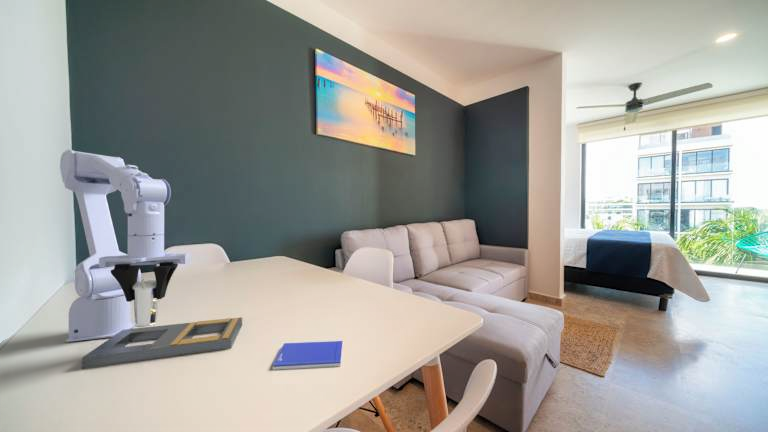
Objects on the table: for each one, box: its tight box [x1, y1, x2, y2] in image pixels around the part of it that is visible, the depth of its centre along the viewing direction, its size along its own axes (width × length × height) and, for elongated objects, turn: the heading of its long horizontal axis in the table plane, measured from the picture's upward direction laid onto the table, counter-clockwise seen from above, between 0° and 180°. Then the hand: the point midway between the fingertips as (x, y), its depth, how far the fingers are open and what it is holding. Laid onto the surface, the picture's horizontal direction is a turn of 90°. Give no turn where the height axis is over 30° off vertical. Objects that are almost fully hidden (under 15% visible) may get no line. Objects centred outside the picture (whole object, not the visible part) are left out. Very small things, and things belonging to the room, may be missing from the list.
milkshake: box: [132, 279, 160, 328], centre depth 55 cm, size 5×5×10 cm
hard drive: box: [272, 340, 343, 371], centre depth 53 cm, size 2×8×12 cm
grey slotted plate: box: [81, 317, 243, 370], centre depth 57 cm, size 24×12×2 cm, turn 109°
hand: (146, 299), depth 55 cm, fingers closed on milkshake, 4 cm apart
